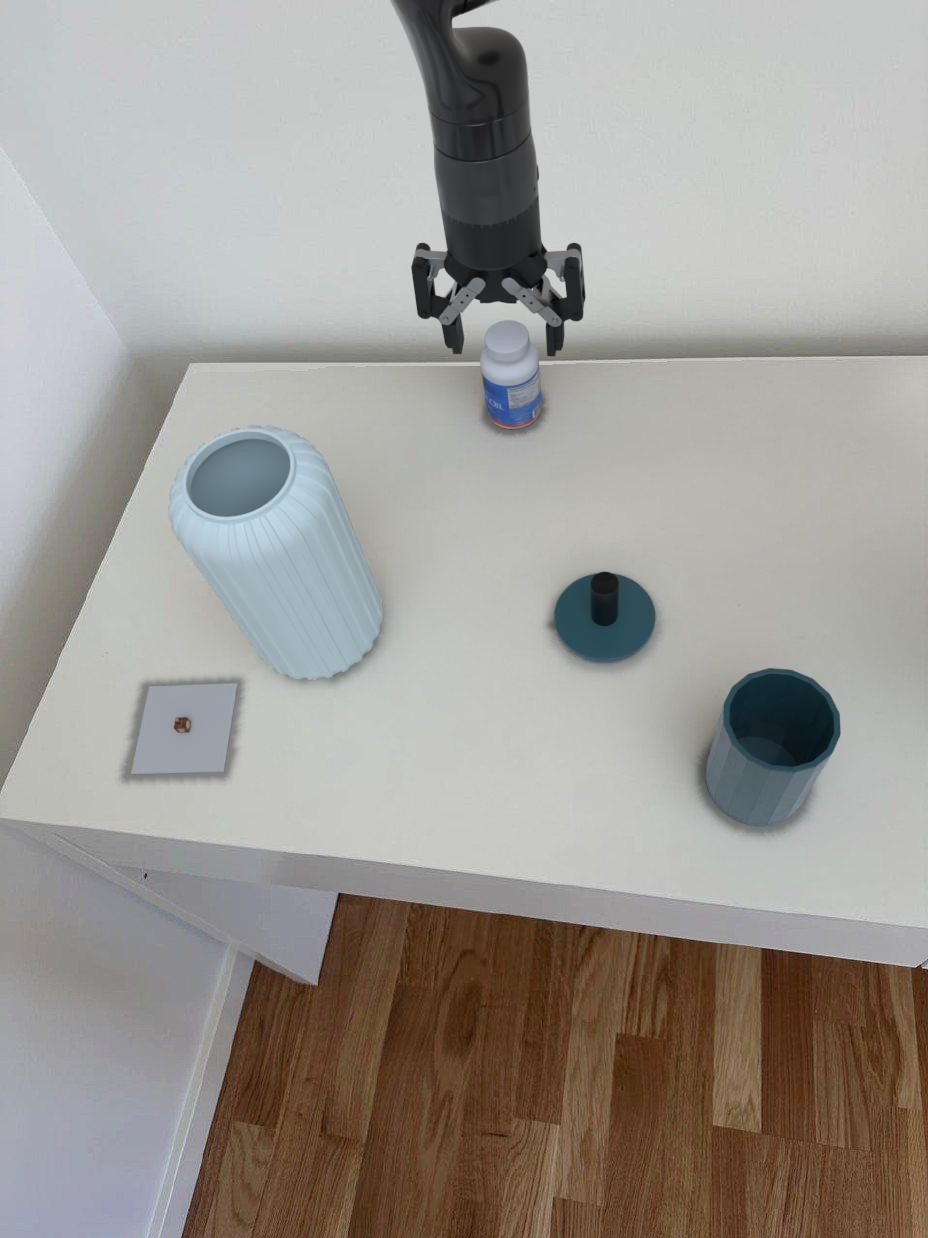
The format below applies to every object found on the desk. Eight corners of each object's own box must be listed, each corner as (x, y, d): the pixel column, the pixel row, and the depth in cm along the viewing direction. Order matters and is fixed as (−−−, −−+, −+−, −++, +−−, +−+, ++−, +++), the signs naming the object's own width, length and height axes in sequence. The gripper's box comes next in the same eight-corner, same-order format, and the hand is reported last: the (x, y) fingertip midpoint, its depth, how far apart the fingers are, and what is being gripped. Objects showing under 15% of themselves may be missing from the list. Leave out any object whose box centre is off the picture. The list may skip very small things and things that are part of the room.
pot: (804, 739, 70) (838, 672, 60) (806, 831, 66) (842, 777, 56) (706, 730, 71) (724, 664, 61) (704, 820, 68) (722, 766, 58)
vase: (321, 717, 76) (227, 575, 57) (234, 641, 81) (120, 486, 62) (416, 622, 79) (357, 458, 60) (327, 555, 84) (246, 382, 65)
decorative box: (223, 771, 75) (215, 763, 73) (130, 774, 76) (120, 766, 74) (237, 683, 79) (230, 673, 77) (149, 686, 80) (139, 677, 78)
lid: (657, 583, 78) (661, 542, 73) (651, 670, 74) (656, 633, 69) (560, 577, 80) (557, 536, 74) (549, 662, 76) (546, 625, 70)
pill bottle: (478, 402, 91) (466, 326, 82) (527, 381, 91) (520, 304, 83) (501, 439, 88) (491, 365, 80) (551, 418, 89) (546, 342, 80)
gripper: (386, 221, 68) (421, 377, 82) (578, 220, 66) (581, 381, 80) (404, 158, 72) (435, 318, 86) (587, 154, 69) (588, 320, 83)
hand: (505, 348), depth 83 cm, fingers open, 8 cm apart
